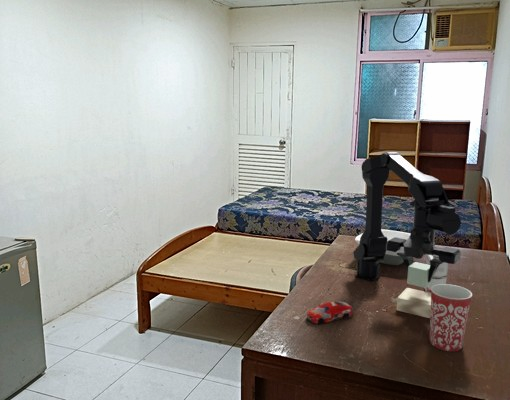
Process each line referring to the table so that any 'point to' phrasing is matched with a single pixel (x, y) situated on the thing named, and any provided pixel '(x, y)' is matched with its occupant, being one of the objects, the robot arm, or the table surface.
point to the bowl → (389, 255)
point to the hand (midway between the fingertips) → (419, 279)
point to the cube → (418, 274)
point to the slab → (415, 302)
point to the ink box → (437, 274)
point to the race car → (330, 312)
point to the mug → (449, 316)
